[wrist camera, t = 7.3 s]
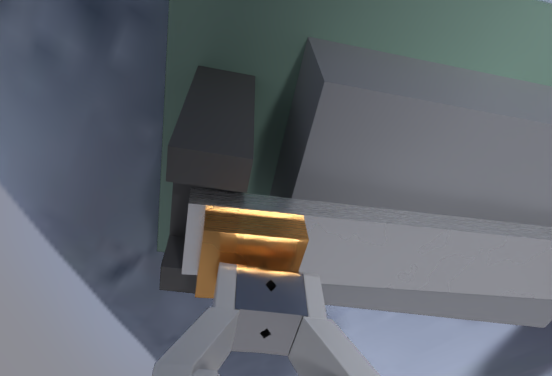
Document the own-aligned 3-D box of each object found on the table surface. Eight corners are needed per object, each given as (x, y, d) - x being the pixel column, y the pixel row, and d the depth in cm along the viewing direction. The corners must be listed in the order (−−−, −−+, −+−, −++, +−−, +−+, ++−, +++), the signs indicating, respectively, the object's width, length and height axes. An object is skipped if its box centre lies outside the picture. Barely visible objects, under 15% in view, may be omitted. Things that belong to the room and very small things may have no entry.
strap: (191, 180, 12) (185, 223, 11) (725, 241, 16) (779, 278, 15) (183, 254, 14) (177, 300, 13) (667, 292, 18) (709, 330, 17)
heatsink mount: (177, -86, 14) (111, -77, 8) (741, 48, 18) (1014, 130, 12) (160, 239, 23) (122, 368, 17) (539, 286, 27) (628, 407, 20)
